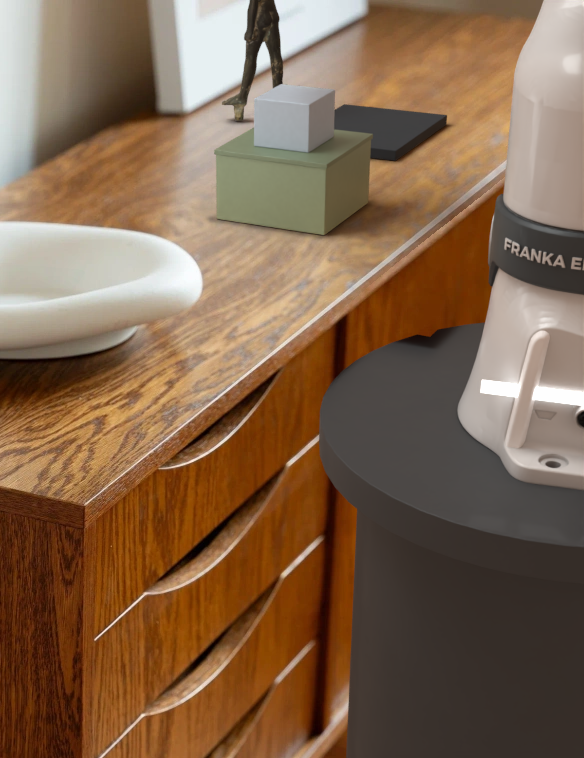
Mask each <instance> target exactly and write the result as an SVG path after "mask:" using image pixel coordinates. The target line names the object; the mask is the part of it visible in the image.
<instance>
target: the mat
mask: <svg viewBox="0 0 584 758" xmlns="http://www.w3.org/2000/svg"><path fill="white" fill-rule="evenodd" d="M447 122H448V115H447V114H442V113H441V114H440V113H432V112H421V111H413V110H404V109H396V108H395V109H393V108H384V107H375V106H365V105H357V104H346V103H344V104H342V105H340V106H338V107H336V108H335V113H334V130H343V131H352V132H361V133H369V134H373V139H371V152H370V159H378V160H385V161H391V162H392V161H394V162H396V161H398V160H399V159H401V157H403V156H405V155H406V154H407V153H409V152H410V151H412V150H413V149H415V148H416V147H417V146H419V145H421V144H422V143H423V142H424V141H426V140H427V139H429V138H430V137H432V136H433V135H434V134H435V133H437V132H438V131H440V130H441V129H443V128H444V127H446V126H447Z"/></svg>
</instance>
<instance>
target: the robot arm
mask: <svg viewBox="0 0 584 758" xmlns="http://www.w3.org/2000/svg"><path fill="white" fill-rule="evenodd" d="M510 106H511V107H510V116H509V127H508V128H509V129H508V139H507V151H506V160H505V161H506V162H505V173H504V184H503V193H501V194H499V195H498V196H497V197H496V200H495V204H494V205H495V206H494V211H493V212H494V213H493V216H492V218H491V219H492V220H491V225H490V232H489V240H488V253H487V254H488V255H487V257H488V258H487V264H488V267H489V268H488V284H489V287H491V290H490V291H491V292H490V297H489V302H488V308H487V312H486V316H485V322H484V323H485V325H484V330H483V334H482V338H481V342H480V345H479V349H478V353H477V356H476V360H475V363H474V366H473V369H472V372H471V375H470V377H469V380H468V383H467V385H466V388H465V390H464V392H463V395H462V397H461V399H460V401H459V404H458V409H457V412H458V417H459V420H460V422H461V424H462V426H463V427H464V428H465V430H466V431H467V432H468V433H469V434H470V435H471V436H472V437H473V438H475V439H476V440H477V441H479V442H480V443H481V444H483V445H484V446H486V447H487V448H489V449H490V450H492V451H493V452H495V453H496V454H497V455H498V456H499V457H500V459H501V461H502V463H503V465H504V466H505V468H506V470H507V471H508V472H509V474H510V475H511V476H512V477H514V478H515V479H517V480H520V481H522V482H526V483H532V484H540V485H547V486H555V487H562V488H570V489H578V490H584V0H542V4H541V7H540V10H539V12H538V14H537V18H536V19H535V22H534V25H533V27H532V29H531V31H530V34H529V35H528V37H527V39H526V41H525V43H524V44H523V46H522V48H521V50H520V53H519V55H518V59H517V61H516V65H515V69H514V73H513V84H512V95H511V105H510Z"/></svg>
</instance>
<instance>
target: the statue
mask: <svg viewBox="0 0 584 758" xmlns="http://www.w3.org/2000/svg"><path fill="white" fill-rule="evenodd" d="M280 19H281V18H280V14H279V12H278V10H277V6H276V2H275V0H249V3H248V7H247V12H246V30H245V32H244V34H243V40H244V41H245V56H244V57H245V58H244V59H245V60H244V64H243V72H242V76H241V77H242V78H241V85H240V89H239V92H238V93H237V94H235V95H234V96H231V97H229V98H227V99H224V100H222V102H221V105H222V106H232V107H233V112H234V120H235V122H242V121H243V120H244V117H245V116H244V115H245V107H246V106H247V104H248V98H249V94H250V91H251V88H252V84H253V82H254V80H255V79H254V78H255V76H256V73H257V67H258V66H257V65H258V63H257V62H258V57H259V56H258V55H259V52H260V50H261V48H262V45H263V43H264V45H265V47H266V49H267V52H268V56H269V63H270V70H271V80H272V81H271V82H272V89H273V88H275V87H277V86H279V85H280V84H284V83H283V82H284V81H283V80H284V79H283V78H284V59H283V56H282V48H281V47H282V46H281V41H282V40H281V32H280V25H279V24H280V21H281V20H280Z"/></svg>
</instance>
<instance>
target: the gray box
mask: <svg viewBox="0 0 584 758" xmlns="http://www.w3.org/2000/svg"><path fill="white" fill-rule="evenodd" d="M335 107H336V89H335V88H324V87H315V86H314V87H313V86H304V85H294V84H284V83H283V84H280V85H279V86H277V87H275V88H273V87H272V88H271V89H269V90H267V91H265V92H264V93H262V94H260V95H258V96H256V97H254V100H253V108H254V109H253V128H254V146H257V147H265V148H273V149H281V150H289V151H297V152H306V153H309V152H310V151H312V150H314V149H315V148H317V147H318V146H320V145H322V144H323V143H325V142H326V141H328V140H329V139H331V138H333V137H334V113H335V109H336V108H335Z"/></svg>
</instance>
